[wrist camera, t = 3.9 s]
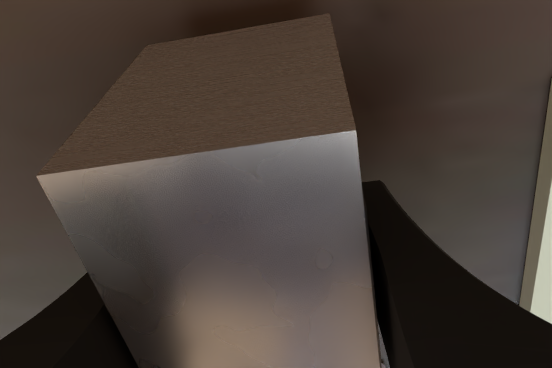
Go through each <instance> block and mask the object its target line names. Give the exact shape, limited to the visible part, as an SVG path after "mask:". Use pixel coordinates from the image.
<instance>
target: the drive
mask: <svg viewBox="0 0 552 368" xmlns="http://www.w3.org/2000/svg"><path fill="white" fill-rule="evenodd" d="M36 177H37V179H38V180H39V182H40V184H41V186H42V188H43V190H44V192H45V193H46V195H47V197H48V199H49V201H50V203H51V205H52V207H53V208H54V210H55V212H56V214H57V216H58V218H59V220H60V221H61V223H62V225H63V227H64V229H65V231H66V233H67V234H68V236H69V238H70V240H71V242H72V244H73V246H74V248H75V249H76V251H77V253H78V255H79V257H80V259H81V261H82V262H83V264H84V266H85V268H86V270H87V272H88V274H89V275H90V277H91V279H92V281H93V283H94V285H95V287H96V289H97V290H98V292H99V294H100V296H101V298H102V300H103V302H104V303H105V305H106V307H107V309H108V311H109V313H110V315H111V316H112V318H113V320H114V322H115V324H116V326H117V328H118V330H119V331H120V333H121V335H122V337H123V339H124V341H125V343H126V344H127V346H128V348H129V350H130V352H131V354H132V356H133V358H134V359H135V361H136V363H137V365H138V367H139V368H382V364H381V354H380V343H379V333H378V323H377V312H376V302H375V291H374V281H373V271H372V260H371V250H370V239H369V229H368V219H367V208H366V203H365V198H364V193H363V188H362V184H361V174H360V164H359V154H358V144H357V133H356V127H355V123H354V118H353V114H352V110H351V105H350V101H349V97H348V92H347V88H346V84H345V79H344V75H343V70H342V66H341V62H340V57H339V53H338V49H337V44H336V40H335V36H334V31H333V27H332V22H331V18H330V14H329V13H328V14H322V15H317V16H311V17H305V18H300V19H294V20H288V21H283V22H277V23H271V24H266V25H260V26H254V27H249V28H243V29H237V30H231V31H226V32H220V33H214V34H209V35H203V36H197V37H192V38H186V39H180V40H175V41H169V42H163V43H157V44H152V45H147V46H146V47H145V48H144V49H143V51H142V52H141V53H140V54H139V55H138V57H137V58H136V59H135V60H134V61H133V62H132V64H131V65H130V66H129V67H128V68H127V69H126V71H125V72H124V73H123V74H122V75H121V77H120V78H119V79H118V80H117V81H116V82H115V84H114V85H113V86H112V87H111V88H110V89H109V91H108V92H107V93H106V94H105V95H104V97H103V98H102V99H101V100H100V101H99V102H98V104H97V105H96V106H95V107H94V108H93V110H92V111H91V112H90V113H89V114H88V115H87V117H86V118H85V119H84V120H83V121H82V122H81V124H80V125H79V126H78V127H77V128H76V130H75V131H74V132H73V133H72V134H71V135H70V137H69V138H68V139H67V140H66V141H65V142H64V144H63V145H62V146H61V147H60V148H59V150H58V151H57V152H56V153H55V154H54V155H53V157H52V158H51V159H50V160H49V161H48V163H47V164H46V165H45V166H44V167H43V168H42V170H41V171H40V172H39V173H38V174H37V175H36Z"/></svg>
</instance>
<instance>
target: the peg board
mask: <svg viewBox="0 0 552 368" xmlns="http://www.w3.org/2000/svg"><path fill="white" fill-rule="evenodd" d="M519 306H520V307H522V308H524V309H525V310H527V311H529V312H531V313H533V314H534V315H536V316H538V317H540V318H542V319H544V320H545V321H547V322H549V323H551V324H552V80H551V87H550V94H549V101H548V108H547V115H546V122H545V129H544V136H543V143H542V150H541V157H540V164H539V171H538V178H537V185H536V192H535V199H534V206H533V213H532V220H531V227H530V234H529V241H528V248H527V255H526V262H525V269H524V276H523V283H522V290H521V297H520V304H519Z"/></svg>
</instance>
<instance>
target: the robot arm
mask: <svg viewBox="0 0 552 368" xmlns="http://www.w3.org/2000/svg"><path fill="white" fill-rule="evenodd" d="M361 184H362V188H363V193H364V198H365V203H366V208H367V219H368V229H369V239H370V250H371V260H372V271H373V281H374V291H375V302H376V312H377V320H378V323H379V327H380V331H381V334H382V338H383V342H384V345H385V349H386V353H387V356H388V361H389V365H390V368H552V324H551V323H549V322H547V321H545V320H544V319H542V318H540V317H538V316H536V315H534V314H533V313H531V312H529V311H527V310H525V309H524V308H522V307H520V306H518V305H517V304H515V303H514V302H512V301H511V300H509V299H507V298H506V297H504V296H503V295H501V294H500V293H498V292H496V291H495V290H493V289H492V288H490V287H489V286H487V285H486V284H484V283H483V282H482V281H480V280H479V279H477V278H476V277H475V276H473V275H472V274H471V273H469V272H468V271H467V270H466V269H464V268H463V267H462V266H461V265H459V264H458V263H457V262H456V261H454V260H453V259H452V258H451V257H450V256H449V255H447V254H446V253H445V252H444V251H443V250H442V249H441V248H440V247H439V246H438V245H437V244H435V243H434V242H433V241H432V240H431V239H430V238H429V237H428V236H427V235H426V234H425V233H424V232H423V231H422V230H421V229H420V228H419V227H418V225H417V224H416V223H415V222H414V221H413V220H412V219H411V218H410V217H409V216H408V215H407V213H406V212H405V211H404V210H403V209H402V207H401V206H400V205H399V204H398V202H397V201H396V200H395V199H394V197H393V196H392V195H391V193H390V192H389V190H388V189H387V187H386V186H385V184H384V183H383V182H381V181H380V180H378V181H370V182H362V183H361ZM381 364H382V363H381ZM0 368H139V367H138V365H137V363H136V361H135V359H134V358H133V356H132V354H131V352H130V350H129V348H128V346H127V344H126V343H125V341H124V339H123V337H122V335H121V333H120V331H119V330H118V328H117V326H116V324H115V322H114V320H113V318H112V316H111V315H110V313H109V311H108V309H107V307H106V305H105V303H104V302H103V300H102V298H101V296H100V294H99V292H98V290H97V289H96V287H95V285H94V283H93V281H92V279H91V277H90V275H89V274H88V272H87V273H86V274H85V275H84V276H83V277H82V278H81V279H80V280H78V281H77V282H76V283H75V284H74V285H73V286H72V287H71V288H70V289H68V290H67V291H66V292H65V293H64V294H62V295H61V296H60V297H59V298H58V299H56V300H55V301H54V302H53V303H51V304H50V305H49V306H47V307H46V308H45V309H44V310H42V311H41V312H40V313H38V314H37V315H36V316H34V317H33V318H32V319H30V320H29V321H27V322H26V323H25V324H23V325H22V326H20V327H19V328H17V329H16V330H14V331H13V332H11V333H10V334H8V335H7V336H6V337H4V338H3V339H1V340H0ZM382 368H386V367H385V365H384V364H382Z"/></svg>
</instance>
